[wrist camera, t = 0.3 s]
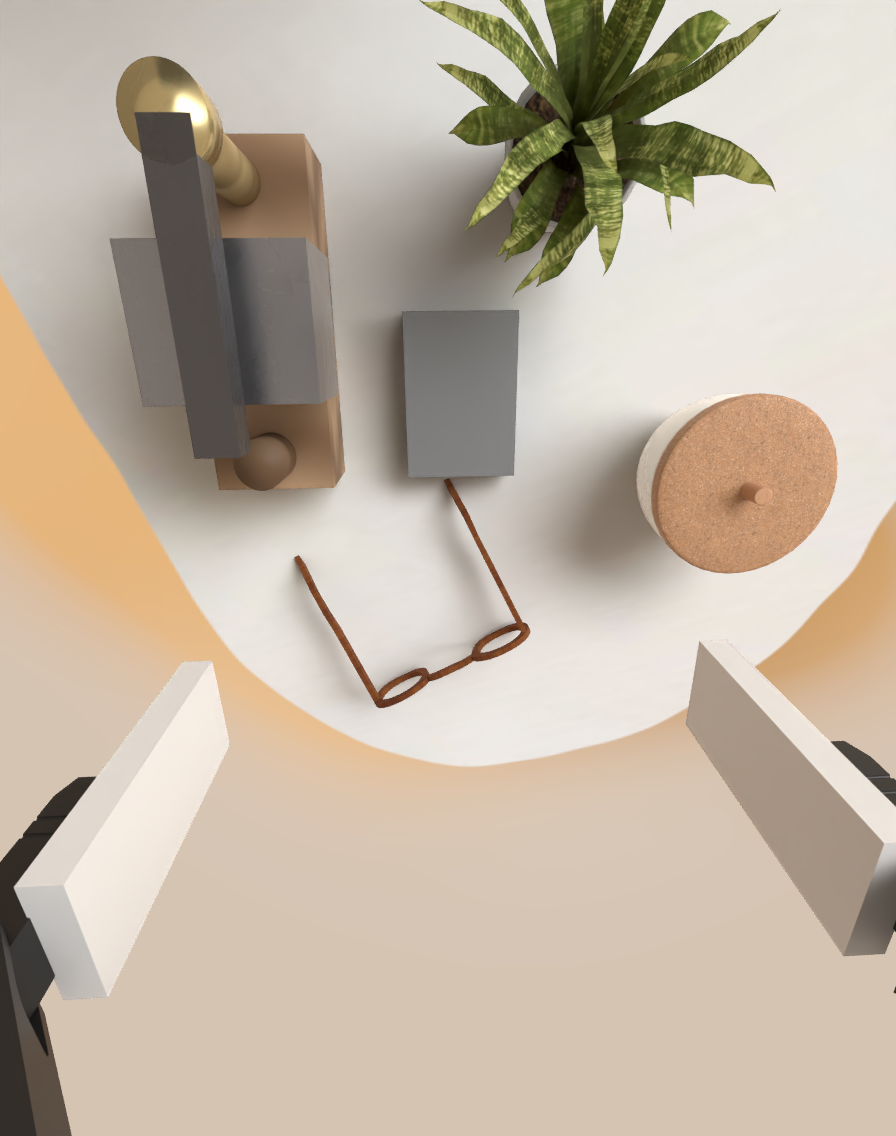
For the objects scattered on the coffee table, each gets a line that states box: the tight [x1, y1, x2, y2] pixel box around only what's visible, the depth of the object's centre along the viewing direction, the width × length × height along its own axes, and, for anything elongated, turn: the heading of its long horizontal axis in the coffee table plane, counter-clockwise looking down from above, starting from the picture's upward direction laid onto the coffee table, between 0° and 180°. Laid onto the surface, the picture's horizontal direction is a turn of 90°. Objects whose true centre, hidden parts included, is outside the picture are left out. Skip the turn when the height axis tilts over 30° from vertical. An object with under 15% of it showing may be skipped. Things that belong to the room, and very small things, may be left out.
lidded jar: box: [636, 394, 837, 573], centre depth 36 cm, size 11×11×9 cm
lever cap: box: [110, 237, 338, 406], centre depth 28 cm, size 7×8×6 cm
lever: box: [116, 56, 251, 459], centre depth 23 cm, size 14×3×2 cm, turn 1°
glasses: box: [295, 479, 530, 708], centre depth 41 cm, size 13×13×5 cm
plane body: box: [213, 132, 345, 491], centre depth 30 cm, size 18×7×12 cm, turn 1°
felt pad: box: [402, 310, 519, 478], centre depth 37 cm, size 10×7×2 cm
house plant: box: [420, 0, 781, 296], centre depth 26 cm, size 14×14×16 cm
